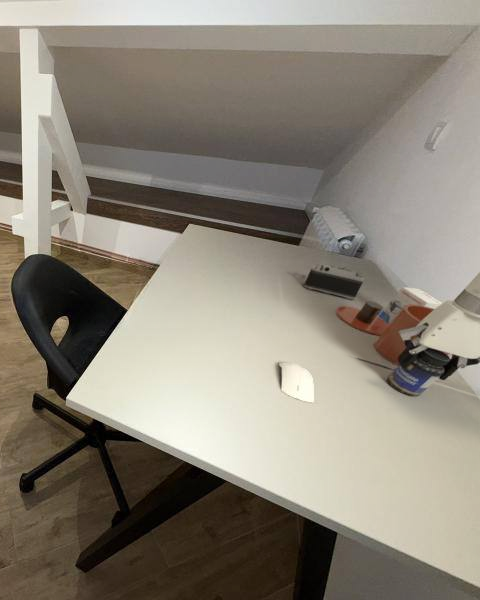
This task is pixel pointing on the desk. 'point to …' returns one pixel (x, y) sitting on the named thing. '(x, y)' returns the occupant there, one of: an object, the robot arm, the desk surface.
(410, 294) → the ink box
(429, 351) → the pill bottle
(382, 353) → the pot
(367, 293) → the desk surface
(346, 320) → the lid
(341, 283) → the camera
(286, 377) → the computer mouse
